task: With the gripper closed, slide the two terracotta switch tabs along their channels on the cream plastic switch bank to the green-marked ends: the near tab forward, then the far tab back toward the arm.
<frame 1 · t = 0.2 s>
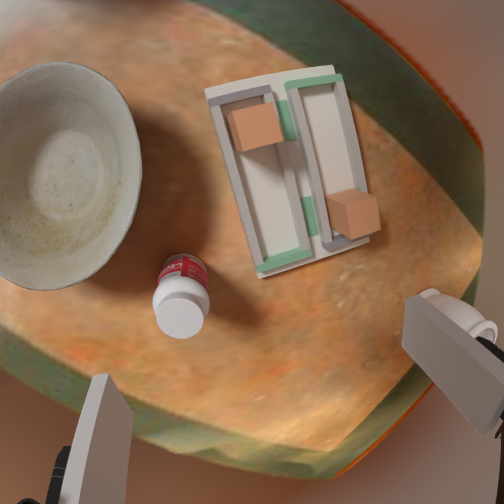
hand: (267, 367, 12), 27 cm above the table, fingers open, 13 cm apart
bowl: (66, 168, 32), on the table
switch bank: (293, 168, 37), on the table
pill bottle: (183, 274, 39), on the table
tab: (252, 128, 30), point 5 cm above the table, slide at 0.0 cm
jar: (422, 308, 49), on the table
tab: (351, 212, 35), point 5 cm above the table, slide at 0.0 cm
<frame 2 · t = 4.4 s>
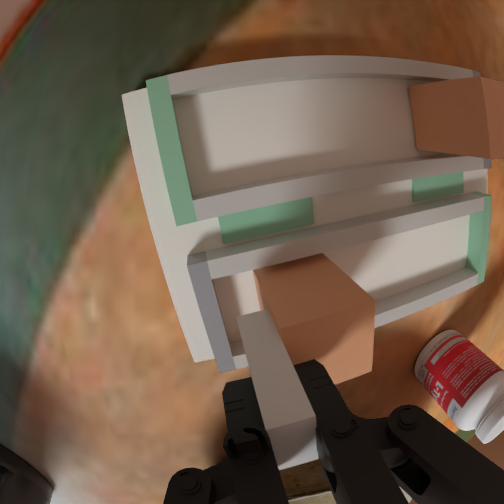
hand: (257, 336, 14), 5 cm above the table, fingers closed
bowl: (274, 468, 27), on the table
switch bank: (354, 193, 18), on the table
pill bottle: (435, 352, 25), on the table
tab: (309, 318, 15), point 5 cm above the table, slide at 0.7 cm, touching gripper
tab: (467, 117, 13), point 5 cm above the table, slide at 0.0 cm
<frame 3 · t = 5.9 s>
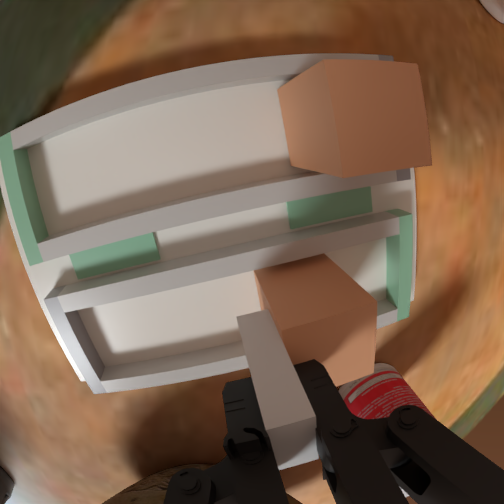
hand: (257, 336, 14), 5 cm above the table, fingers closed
bowl: (199, 483, 26), on the table
switch bank: (220, 221, 17), on the table
pill bottle: (364, 385, 24), on the table
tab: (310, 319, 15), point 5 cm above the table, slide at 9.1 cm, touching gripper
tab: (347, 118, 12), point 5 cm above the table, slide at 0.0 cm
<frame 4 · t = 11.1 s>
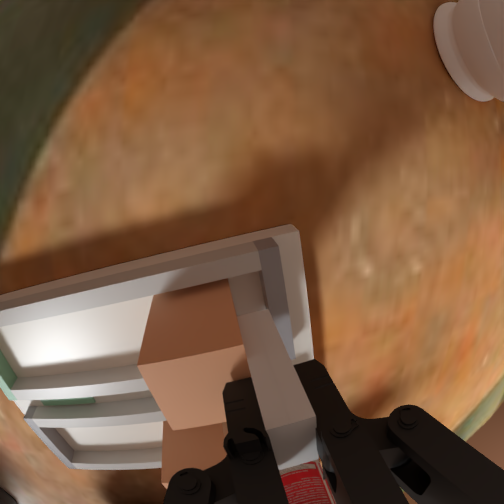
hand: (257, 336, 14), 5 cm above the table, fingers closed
switch bank: (136, 374, 19), on the table
pill bottle: (288, 464, 26), on the table
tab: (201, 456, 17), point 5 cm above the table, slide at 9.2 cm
jar: (466, 51, 15), on the table
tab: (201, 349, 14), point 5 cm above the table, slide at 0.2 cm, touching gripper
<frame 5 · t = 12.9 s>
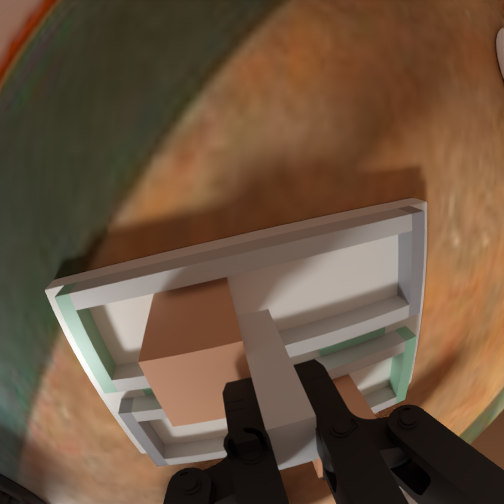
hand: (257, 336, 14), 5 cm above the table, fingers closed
switch bank: (262, 346, 20), on the table
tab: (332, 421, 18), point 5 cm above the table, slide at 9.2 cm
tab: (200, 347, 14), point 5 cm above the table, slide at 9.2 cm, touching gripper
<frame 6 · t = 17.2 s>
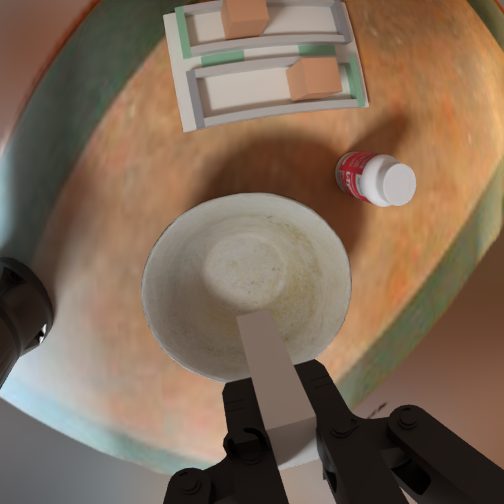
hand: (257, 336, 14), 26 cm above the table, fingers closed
bowl: (238, 270, 42), on the table
switch bank: (269, 57, 33), on the table
pill bottle: (353, 173, 40), on the table
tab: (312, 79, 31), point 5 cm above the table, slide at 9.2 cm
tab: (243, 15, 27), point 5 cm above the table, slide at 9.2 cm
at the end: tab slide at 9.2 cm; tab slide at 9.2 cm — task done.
